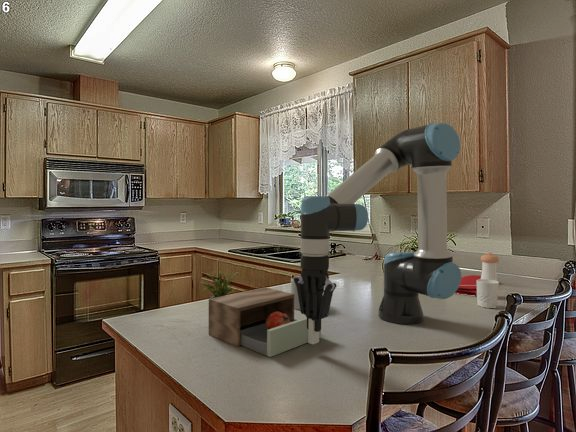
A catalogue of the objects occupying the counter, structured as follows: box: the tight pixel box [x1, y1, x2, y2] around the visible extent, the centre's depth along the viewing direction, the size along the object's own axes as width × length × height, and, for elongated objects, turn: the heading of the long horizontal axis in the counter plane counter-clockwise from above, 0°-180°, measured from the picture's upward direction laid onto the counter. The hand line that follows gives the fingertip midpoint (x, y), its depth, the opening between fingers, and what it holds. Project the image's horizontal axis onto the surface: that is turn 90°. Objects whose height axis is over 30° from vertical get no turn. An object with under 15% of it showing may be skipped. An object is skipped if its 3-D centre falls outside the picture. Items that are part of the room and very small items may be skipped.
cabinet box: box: [208, 286, 295, 347], centre depth 120 cm, size 14×23×11 cm, turn 136°
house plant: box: [199, 270, 239, 299], centre depth 137 cm, size 14×14×16 cm
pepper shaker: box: [480, 252, 500, 282], centre depth 166 cm, size 7×7×19 cm
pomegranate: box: [265, 312, 290, 330], centre depth 112 cm, size 7×7×10 cm
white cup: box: [476, 279, 500, 309], centre depth 151 cm, size 8×8×10 cm
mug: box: [290, 276, 300, 311], centre depth 148 cm, size 12×8×11 cm
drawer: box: [240, 316, 322, 358], centre depth 112 cm, size 15×21×7 cm
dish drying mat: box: [455, 274, 481, 296], centre depth 186 cm, size 16×41×4 cm, turn 140°
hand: (313, 342), depth 103 cm, fingers closed
